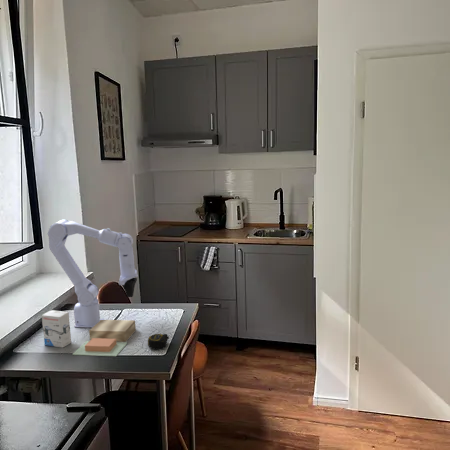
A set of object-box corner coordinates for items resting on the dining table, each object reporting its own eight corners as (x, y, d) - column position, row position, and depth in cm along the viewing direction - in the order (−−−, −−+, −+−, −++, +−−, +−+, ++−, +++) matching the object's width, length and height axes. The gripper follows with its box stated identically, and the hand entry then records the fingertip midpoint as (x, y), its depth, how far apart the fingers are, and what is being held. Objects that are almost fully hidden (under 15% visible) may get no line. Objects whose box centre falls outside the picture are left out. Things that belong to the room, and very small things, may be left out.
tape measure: (165, 351, 144) (165, 341, 143) (146, 351, 144) (145, 341, 143) (169, 342, 150) (168, 332, 150) (150, 342, 151) (149, 333, 150)
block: (92, 338, 151) (93, 343, 151) (84, 345, 145) (85, 351, 145) (116, 338, 149) (116, 343, 150) (108, 346, 144) (109, 351, 144)
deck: (90, 340, 154) (89, 330, 154) (102, 329, 164) (101, 319, 163) (125, 341, 152) (124, 331, 151) (135, 330, 162) (135, 320, 161)
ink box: (44, 345, 152) (40, 315, 150) (53, 339, 157) (50, 309, 155) (63, 348, 149) (59, 317, 147) (72, 341, 154) (69, 311, 152)
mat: (72, 354, 144) (72, 354, 144) (86, 341, 153) (86, 341, 153) (116, 356, 141) (116, 355, 141) (127, 343, 151) (127, 342, 151)
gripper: (129, 269, 159) (132, 303, 162) (143, 259, 173) (145, 290, 176) (112, 269, 161) (115, 302, 163) (126, 259, 175) (129, 290, 177)
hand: (130, 296), depth 169 cm, fingers closed
